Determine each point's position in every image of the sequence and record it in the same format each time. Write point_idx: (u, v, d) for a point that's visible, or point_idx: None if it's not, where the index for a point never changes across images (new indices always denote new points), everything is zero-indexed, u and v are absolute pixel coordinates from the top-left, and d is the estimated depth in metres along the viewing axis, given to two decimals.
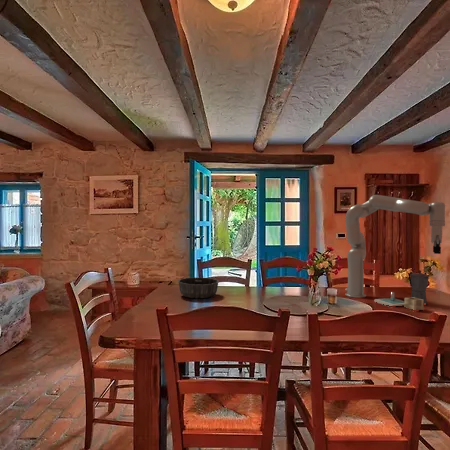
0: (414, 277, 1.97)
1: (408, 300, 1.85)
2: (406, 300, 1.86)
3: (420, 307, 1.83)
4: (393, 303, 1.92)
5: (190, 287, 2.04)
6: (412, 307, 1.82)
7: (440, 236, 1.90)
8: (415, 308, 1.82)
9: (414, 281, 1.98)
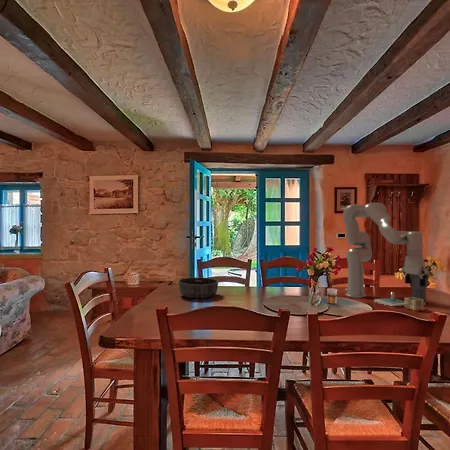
0: (414, 277, 1.97)
1: (408, 300, 1.85)
2: (406, 300, 1.86)
3: (420, 307, 1.83)
4: (393, 303, 1.92)
5: (190, 287, 2.04)
6: (412, 307, 1.82)
7: (424, 267, 1.81)
8: (415, 308, 1.82)
9: (414, 281, 1.98)
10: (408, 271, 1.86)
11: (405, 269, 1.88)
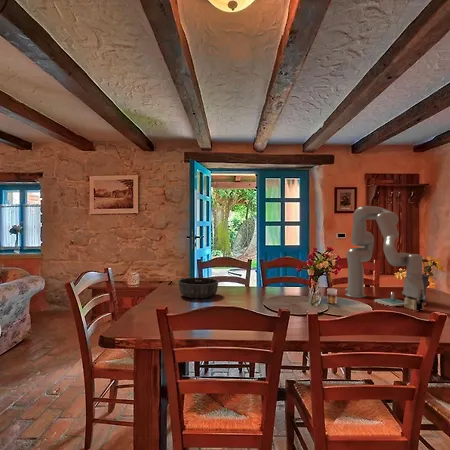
0: None
1: (408, 300, 1.85)
2: (406, 300, 1.86)
3: None
4: (393, 303, 1.92)
5: (190, 287, 2.04)
6: (412, 307, 1.82)
7: (423, 291, 1.81)
8: (415, 308, 1.82)
9: None
10: (407, 293, 1.86)
11: (404, 291, 1.88)
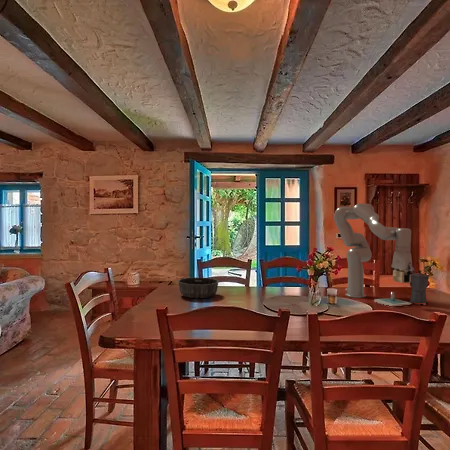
0: (414, 277, 1.97)
1: (396, 272, 1.92)
2: (394, 272, 1.93)
3: None
4: (393, 303, 1.92)
5: (190, 287, 2.04)
6: (400, 279, 1.90)
7: (411, 263, 1.88)
8: (403, 280, 1.89)
9: (414, 281, 1.98)
10: (396, 266, 1.93)
11: (393, 264, 1.95)
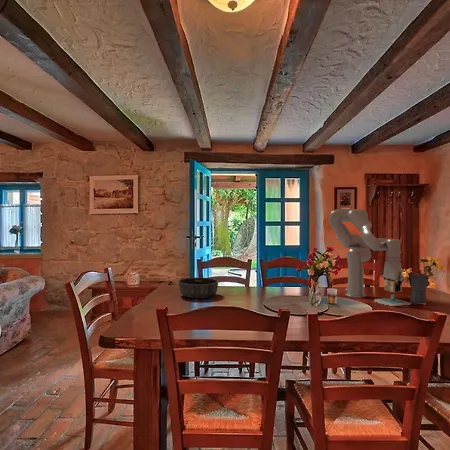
0: (414, 277, 1.97)
1: (387, 282, 1.98)
2: (386, 282, 1.99)
3: None
4: (393, 303, 1.92)
5: (190, 287, 2.04)
6: (391, 288, 1.95)
7: (401, 273, 1.94)
8: (394, 289, 1.94)
9: (414, 281, 1.98)
10: (387, 276, 1.99)
11: (384, 274, 2.01)
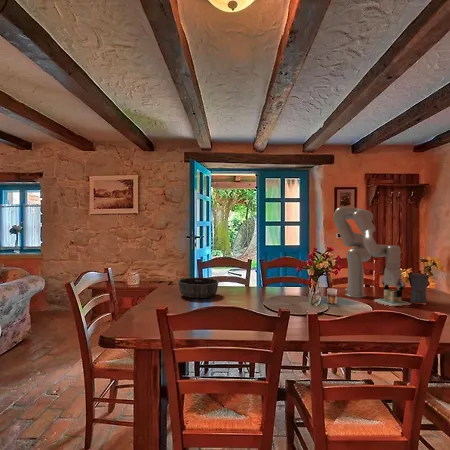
0: (414, 277, 1.97)
1: (387, 292, 1.98)
2: (385, 292, 1.99)
3: (398, 298, 1.96)
4: (393, 303, 1.92)
5: (190, 287, 2.04)
6: (390, 298, 1.96)
7: None
8: (393, 299, 1.95)
9: (414, 281, 1.98)
10: (386, 282, 1.99)
11: (384, 280, 2.01)
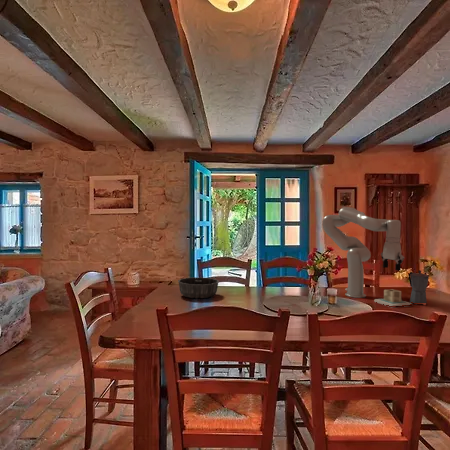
0: (414, 277, 1.97)
1: (387, 292, 1.98)
2: (385, 292, 1.99)
3: (398, 298, 1.96)
4: (393, 303, 1.92)
5: (190, 287, 2.04)
6: (390, 298, 1.96)
7: (400, 253, 1.96)
8: (393, 299, 1.95)
9: (414, 281, 1.98)
10: (386, 256, 2.01)
11: (383, 254, 2.03)
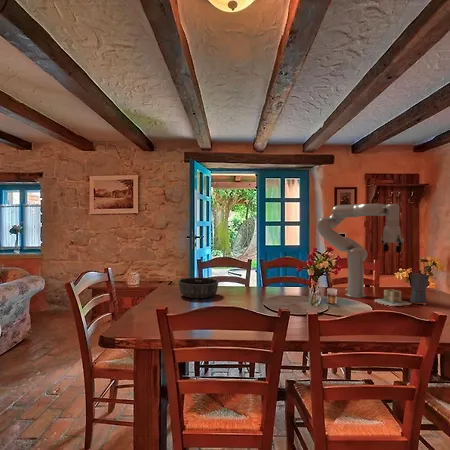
0: (414, 277, 1.97)
1: (387, 292, 1.98)
2: (385, 292, 1.99)
3: (398, 298, 1.96)
4: (393, 303, 1.92)
5: (190, 287, 2.04)
6: (390, 298, 1.96)
7: (400, 236, 2.01)
8: (393, 299, 1.95)
9: (414, 281, 1.98)
10: (386, 240, 2.06)
11: (384, 238, 2.08)
